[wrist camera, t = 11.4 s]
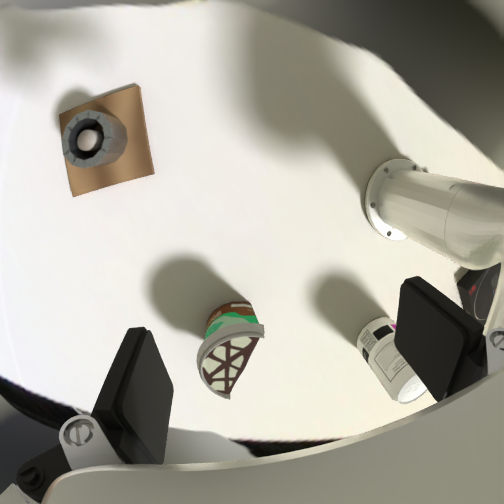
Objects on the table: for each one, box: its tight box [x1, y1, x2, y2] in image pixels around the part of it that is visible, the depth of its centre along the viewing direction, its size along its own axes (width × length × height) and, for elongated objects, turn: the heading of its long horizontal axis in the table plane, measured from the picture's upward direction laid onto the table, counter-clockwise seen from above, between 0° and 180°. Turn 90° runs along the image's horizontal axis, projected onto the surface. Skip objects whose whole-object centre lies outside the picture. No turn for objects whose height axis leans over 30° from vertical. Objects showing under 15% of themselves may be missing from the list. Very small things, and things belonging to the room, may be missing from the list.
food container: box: [197, 302, 264, 399], centre depth 38 cm, size 12×6×10 cm, turn 157°
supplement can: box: [357, 317, 428, 404], centre depth 40 cm, size 8×8×15 cm
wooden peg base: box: [59, 86, 155, 197], centre depth 29 cm, size 12×12×6 cm
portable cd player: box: [457, 262, 501, 326], centre depth 47 cm, size 16×17×4 cm
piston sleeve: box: [62, 110, 128, 169], centre depth 28 cm, size 6×6×6 cm
